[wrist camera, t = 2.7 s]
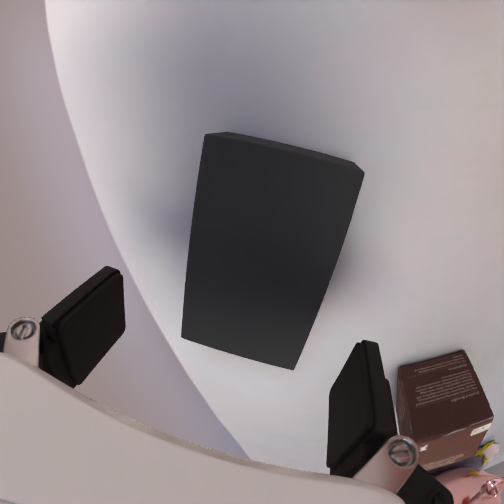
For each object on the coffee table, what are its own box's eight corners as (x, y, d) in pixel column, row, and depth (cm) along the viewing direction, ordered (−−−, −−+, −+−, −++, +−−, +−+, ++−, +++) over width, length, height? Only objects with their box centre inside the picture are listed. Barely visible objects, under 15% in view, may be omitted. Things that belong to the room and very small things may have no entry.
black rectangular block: (226, 131, 16) (204, 133, 12) (354, 162, 15) (365, 172, 12) (199, 307, 21) (180, 338, 18) (298, 335, 20) (293, 370, 17)
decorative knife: (507, 450, 23) (480, 468, 25) (506, 448, 23) (480, 465, 25) (488, 438, 21) (456, 459, 23) (487, 435, 22) (456, 456, 24)
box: (394, 408, 22) (402, 477, 15) (397, 364, 20) (411, 444, 13) (455, 394, 20) (473, 458, 13) (466, 347, 18) (496, 418, 11)
